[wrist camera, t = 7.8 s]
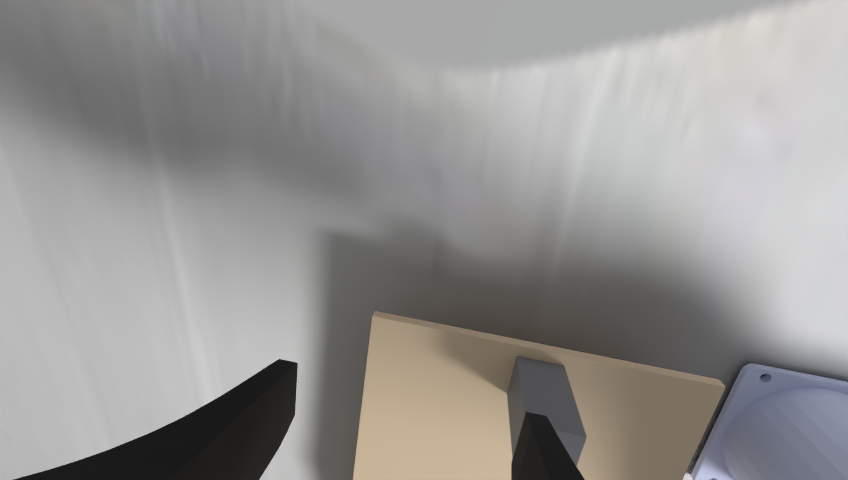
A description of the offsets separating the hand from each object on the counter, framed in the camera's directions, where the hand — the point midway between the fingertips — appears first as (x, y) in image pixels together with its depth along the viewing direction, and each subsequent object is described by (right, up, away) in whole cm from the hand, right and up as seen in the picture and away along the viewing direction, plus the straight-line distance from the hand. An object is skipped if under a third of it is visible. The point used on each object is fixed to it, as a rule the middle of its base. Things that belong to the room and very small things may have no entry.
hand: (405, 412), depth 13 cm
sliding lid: (+4, -7, +8) cm, 11 cm away
